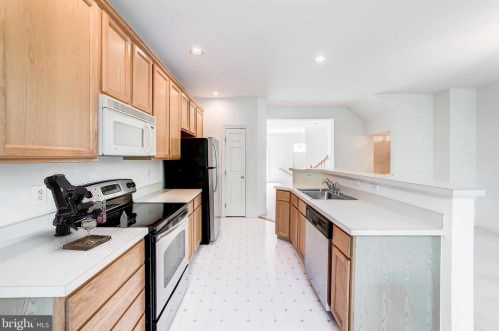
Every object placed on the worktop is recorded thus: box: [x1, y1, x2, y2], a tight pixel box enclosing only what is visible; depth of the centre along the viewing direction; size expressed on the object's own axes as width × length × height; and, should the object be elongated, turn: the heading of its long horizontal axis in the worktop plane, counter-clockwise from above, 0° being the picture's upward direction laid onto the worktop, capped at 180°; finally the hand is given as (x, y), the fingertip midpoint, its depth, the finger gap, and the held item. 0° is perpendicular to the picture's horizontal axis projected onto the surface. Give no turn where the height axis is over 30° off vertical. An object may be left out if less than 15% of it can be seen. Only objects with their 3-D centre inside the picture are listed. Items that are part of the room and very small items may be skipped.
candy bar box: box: [85, 199, 107, 225], centre depth 155 cm, size 11×5×16 cm, turn 102°
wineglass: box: [80, 219, 97, 244], centre depth 117 cm, size 7×7×12 cm
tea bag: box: [120, 210, 128, 229], centre depth 148 cm, size 4×7×10 cm, turn 28°
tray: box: [62, 234, 112, 251], centre depth 117 cm, size 16×14×2 cm
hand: (87, 228), depth 117 cm, fingers open, 9 cm apart
